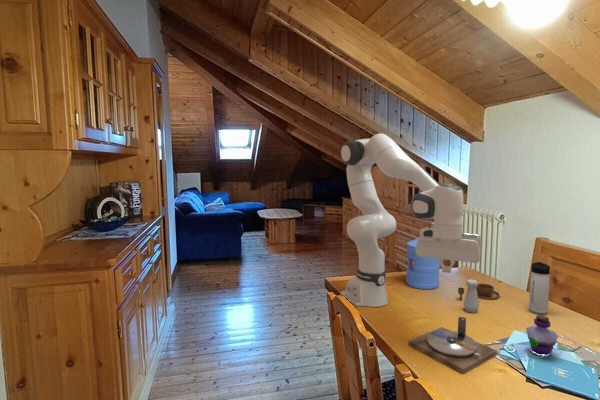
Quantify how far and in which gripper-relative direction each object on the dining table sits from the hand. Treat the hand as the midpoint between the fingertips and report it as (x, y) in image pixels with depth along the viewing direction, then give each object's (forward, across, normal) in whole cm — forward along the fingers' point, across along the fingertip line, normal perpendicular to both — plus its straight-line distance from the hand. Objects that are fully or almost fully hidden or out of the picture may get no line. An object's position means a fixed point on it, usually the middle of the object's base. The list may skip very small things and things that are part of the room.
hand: (446, 271), depth 121 cm
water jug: (+25, +15, -54) cm, 62 cm away
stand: (+24, -3, +6) cm, 25 cm away
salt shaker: (+24, -8, -30) cm, 39 cm away
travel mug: (+24, -32, -40) cm, 57 cm away
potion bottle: (+24, -29, -4) cm, 38 cm away
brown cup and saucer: (+25, -9, -50) cm, 57 cm away
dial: (+22, -3, +6) cm, 24 cm away
